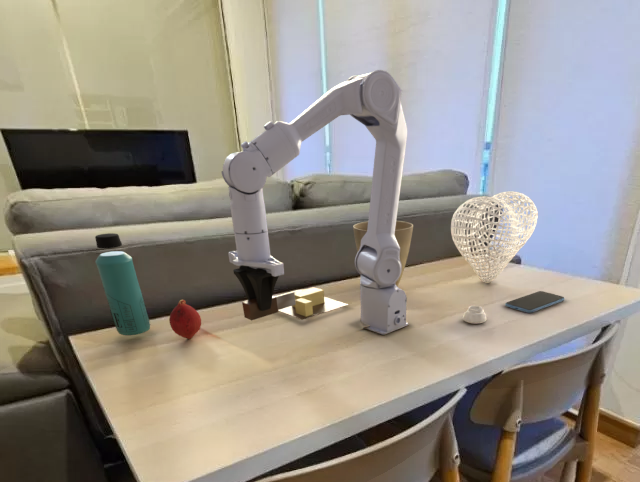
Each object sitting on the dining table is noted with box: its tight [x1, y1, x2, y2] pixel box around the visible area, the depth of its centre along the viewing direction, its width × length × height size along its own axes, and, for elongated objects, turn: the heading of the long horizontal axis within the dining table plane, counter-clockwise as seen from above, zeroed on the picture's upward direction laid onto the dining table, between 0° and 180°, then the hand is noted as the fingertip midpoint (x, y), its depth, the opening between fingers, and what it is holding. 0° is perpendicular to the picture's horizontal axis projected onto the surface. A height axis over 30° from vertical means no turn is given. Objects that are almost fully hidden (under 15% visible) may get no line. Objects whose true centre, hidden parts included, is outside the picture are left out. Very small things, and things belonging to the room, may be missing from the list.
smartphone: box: [504, 290, 565, 314], centre depth 110 cm, size 7×1×15 cm
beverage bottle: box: [94, 232, 152, 336], centre depth 89 cm, size 6×7×20 cm
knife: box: [241, 291, 296, 321], centre depth 88 cm, size 11×2×3 cm, turn 135°
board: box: [274, 289, 350, 321], centre depth 109 cm, size 18×14×1 cm
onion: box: [168, 299, 202, 340], centre depth 91 cm, size 6×6×8 cm
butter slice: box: [295, 298, 313, 317], centre depth 102 cm, size 4×2×3 cm, turn 46°
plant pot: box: [352, 220, 414, 288], centre depth 118 cm, size 15×15×16 cm
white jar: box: [462, 305, 488, 325], centre depth 100 cm, size 5×3×5 cm
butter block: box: [293, 286, 325, 307], centre depth 107 cm, size 4×7×3 cm, turn 136°
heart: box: [450, 190, 539, 284], centre depth 121 cm, size 28×16×22 cm, turn 139°
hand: (260, 307), depth 86 cm, fingers closed on knife, 2 cm apart
